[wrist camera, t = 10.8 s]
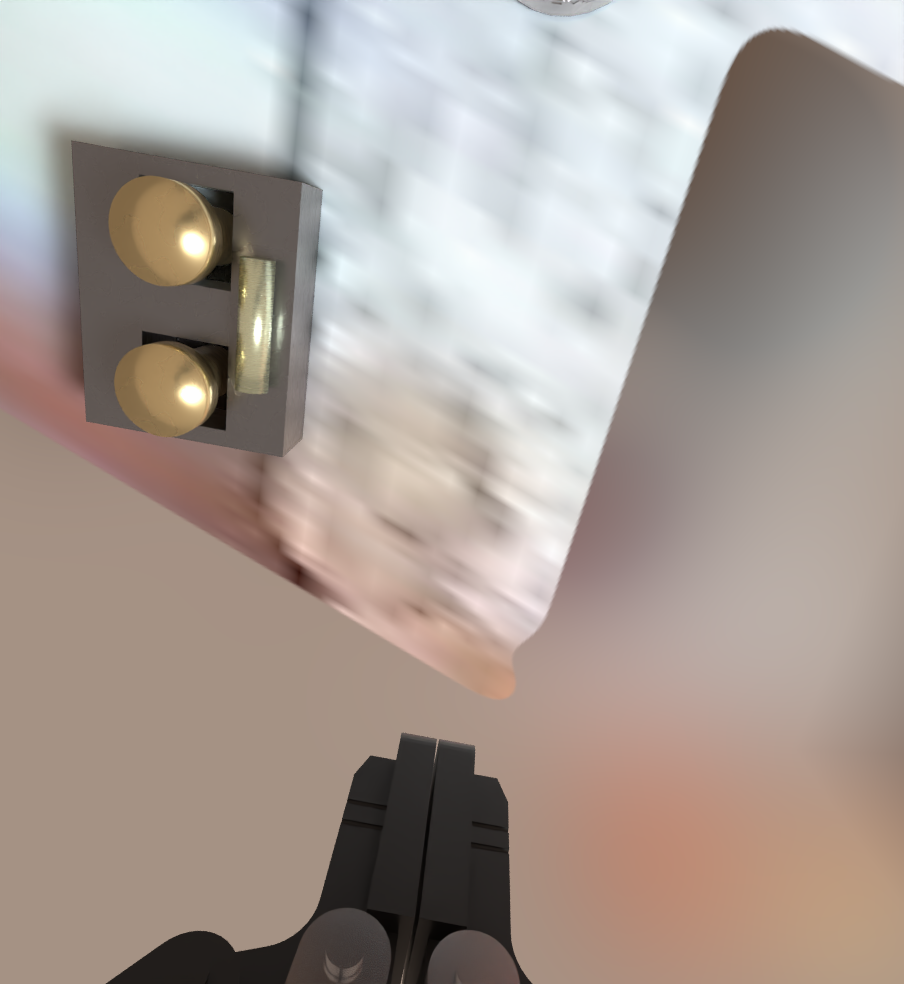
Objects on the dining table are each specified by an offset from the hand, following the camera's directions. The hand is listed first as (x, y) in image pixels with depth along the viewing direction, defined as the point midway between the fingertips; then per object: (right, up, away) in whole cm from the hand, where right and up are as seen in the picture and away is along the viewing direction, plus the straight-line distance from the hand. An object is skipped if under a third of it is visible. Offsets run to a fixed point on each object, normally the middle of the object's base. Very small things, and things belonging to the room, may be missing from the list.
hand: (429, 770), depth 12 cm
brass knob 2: (-15, +13, +27) cm, 34 cm away
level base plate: (-14, +17, +26) cm, 34 cm away
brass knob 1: (-13, +21, +24) cm, 35 cm away
